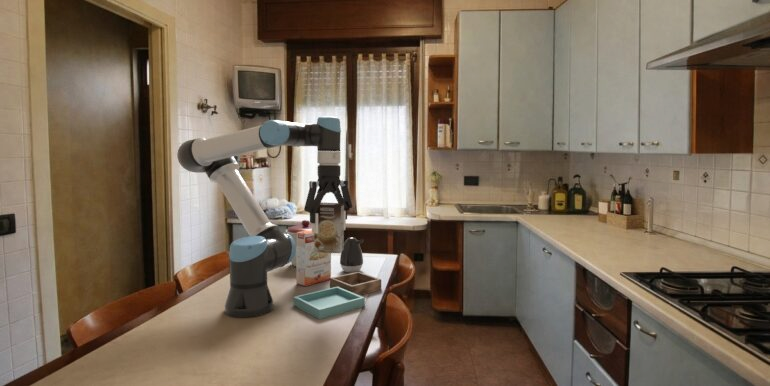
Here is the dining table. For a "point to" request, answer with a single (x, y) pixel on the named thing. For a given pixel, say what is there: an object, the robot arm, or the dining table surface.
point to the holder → (365, 286)
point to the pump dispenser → (351, 256)
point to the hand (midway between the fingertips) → (329, 231)
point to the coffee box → (330, 228)
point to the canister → (294, 230)
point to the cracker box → (310, 261)
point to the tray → (329, 302)
